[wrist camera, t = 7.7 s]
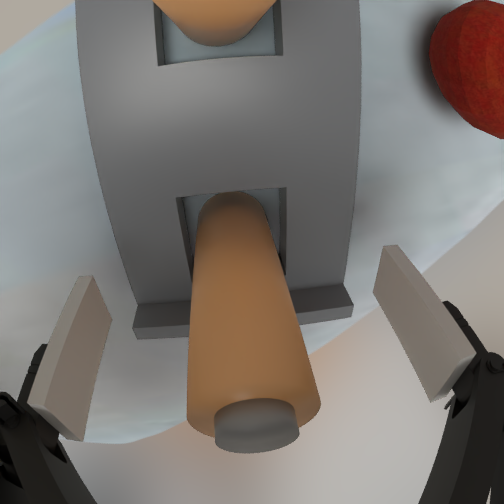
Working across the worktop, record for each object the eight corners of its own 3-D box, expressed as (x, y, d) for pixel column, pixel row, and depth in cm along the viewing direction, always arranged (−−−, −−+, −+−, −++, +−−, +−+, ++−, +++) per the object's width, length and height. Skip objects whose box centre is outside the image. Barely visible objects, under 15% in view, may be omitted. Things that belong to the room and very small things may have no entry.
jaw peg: (193, 194, 17) (170, 416, 6) (265, 188, 17) (338, 397, 7) (202, 254, 19) (201, 463, 9) (266, 248, 19) (317, 450, 9)
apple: (501, 64, 13) (585, 88, 6) (458, 140, 16) (542, 189, 10) (435, -17, 10) (528, -27, 4) (381, 63, 14) (480, 77, 7)
